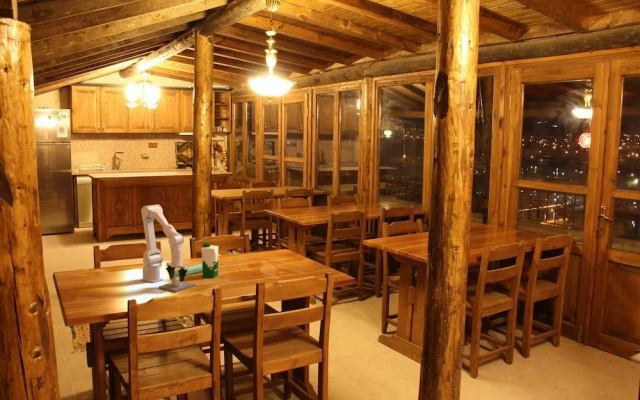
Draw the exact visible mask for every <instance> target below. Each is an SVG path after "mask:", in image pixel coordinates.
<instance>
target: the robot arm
mask: <svg viewBox="0 0 640 400" xmlns="http://www.w3.org/2000/svg"><path fill="white" fill-rule="evenodd" d="M140 212H141V218H142V222H143V230H144V236H145V243H146V244H145V245H146V250H145V251H144V252H143V254H142V255H143V259H142V262H143V265H144V266H143V267H142V279H141V281H142V282H143V281H144V282H148V283H153V284H154V283H157V282H161V281H163V280H164V278H162V277H161V274H160V273H161V271H160V268H161V267H160V266H161V265H162V263H163V260H164V259H163V255H162V252H161V249H159V248H157V241H156V240H157V239H156V235H155V227H154V221H155V220H156V221H157V222H158V223H159V224H160V225H161V227H162V228H163V229H162V232H163V233H164V234H165V236H166V237H167V239H168V240H167V241H168V245H169V248H170V258H171V259H170V261H168V262H166V263H165V271H167V273H168V276H169V279H170V281H172V278H173V277H175V275H174V271H175V270H176V269H180V270H178V272H179V276H180V282H183V281H185V278H186V276H187V275H186V272H187V271H188V267H189V266H188V265H186V264H184V263H183V256H182V255H183V249H182V248H183V247H182V246H183V244H184V241H185V240H184V236H183V234H181V233H179V232H177V230H176V229H175V227H174V226H173V225H172V224H169V222H168V221H167V219H166V217H165V216H164V213H163V208H162V206H161V205H160V204H157V203H156V204H152V205H143V207H142V208H141V210H140ZM185 275H186V276H185Z"/></svg>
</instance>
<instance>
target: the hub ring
mask: <svg viewBox="0 0 640 400" xmlns="http://www.w3.org/2000/svg"><path fill="white" fill-rule="evenodd" d="M175 278H179V279H175ZM171 282H172V286H174V287H178V286H182V282H180V277H175V276H174V277H173V278H172V280H171Z"/></svg>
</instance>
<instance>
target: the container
mask: <svg viewBox="0 0 640 400" xmlns="http://www.w3.org/2000/svg"><path fill="white" fill-rule="evenodd" d="M178 270H180V268H175V271H174V277H180V276H179V272H178ZM199 273H202V263H198V264H194V265H190V266H188V271H187V272H186V275H185V277H186V276H191V275H195V274H199Z"/></svg>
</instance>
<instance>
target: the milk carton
mask: <svg viewBox="0 0 640 400" xmlns="http://www.w3.org/2000/svg"><path fill="white" fill-rule="evenodd" d="M200 250H201V264H202V272H201V273H202V274H201V275H202V278H207V279H215V278H216V277H217V276H219V245H211V243H210V242H202V247H201V249H200Z"/></svg>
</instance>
